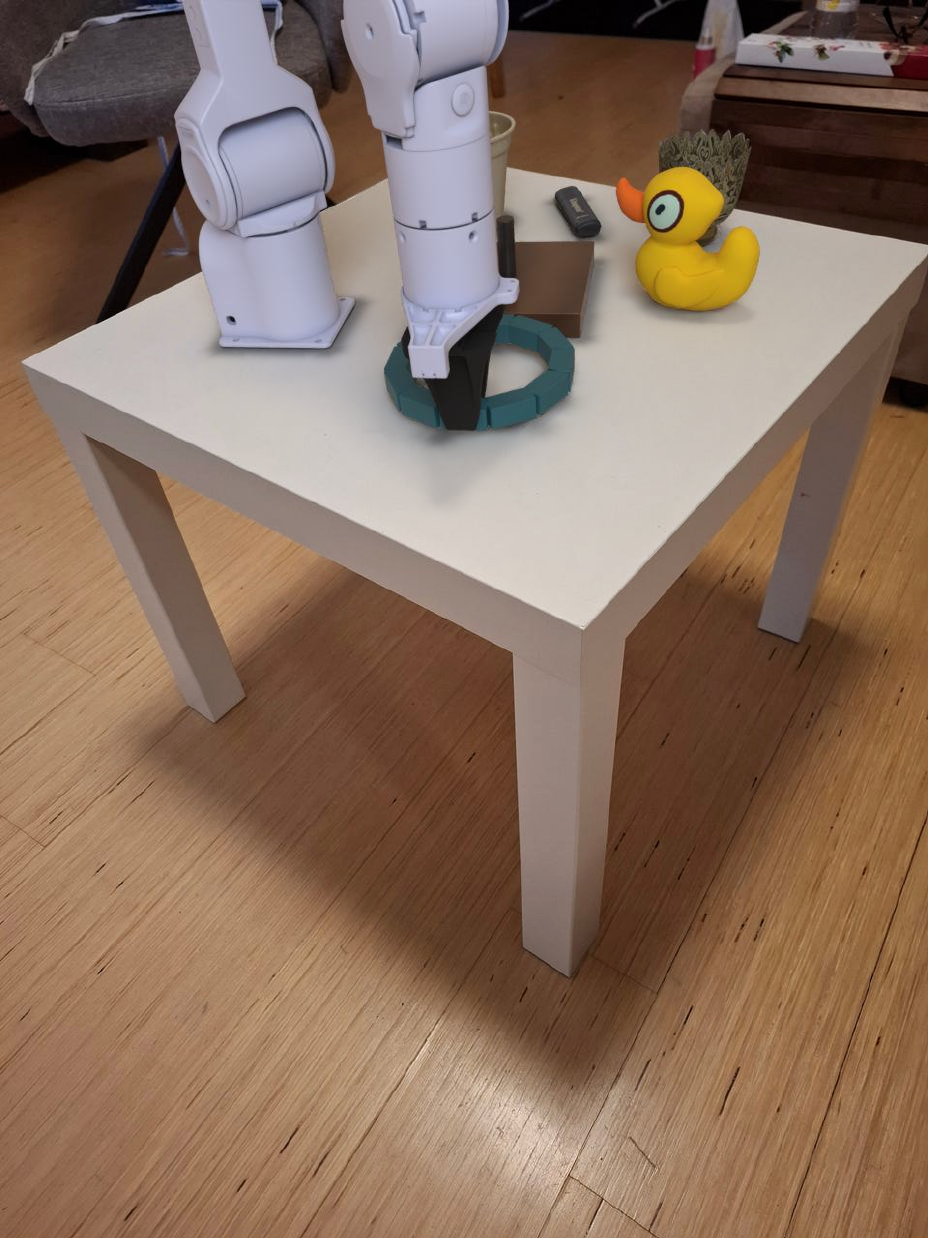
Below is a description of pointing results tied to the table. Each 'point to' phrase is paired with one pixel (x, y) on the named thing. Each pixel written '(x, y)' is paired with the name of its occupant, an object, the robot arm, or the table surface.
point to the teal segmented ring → (500, 406)
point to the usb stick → (577, 212)
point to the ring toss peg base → (546, 277)
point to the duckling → (687, 242)
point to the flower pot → (500, 155)
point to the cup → (710, 166)
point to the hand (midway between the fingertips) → (464, 418)
